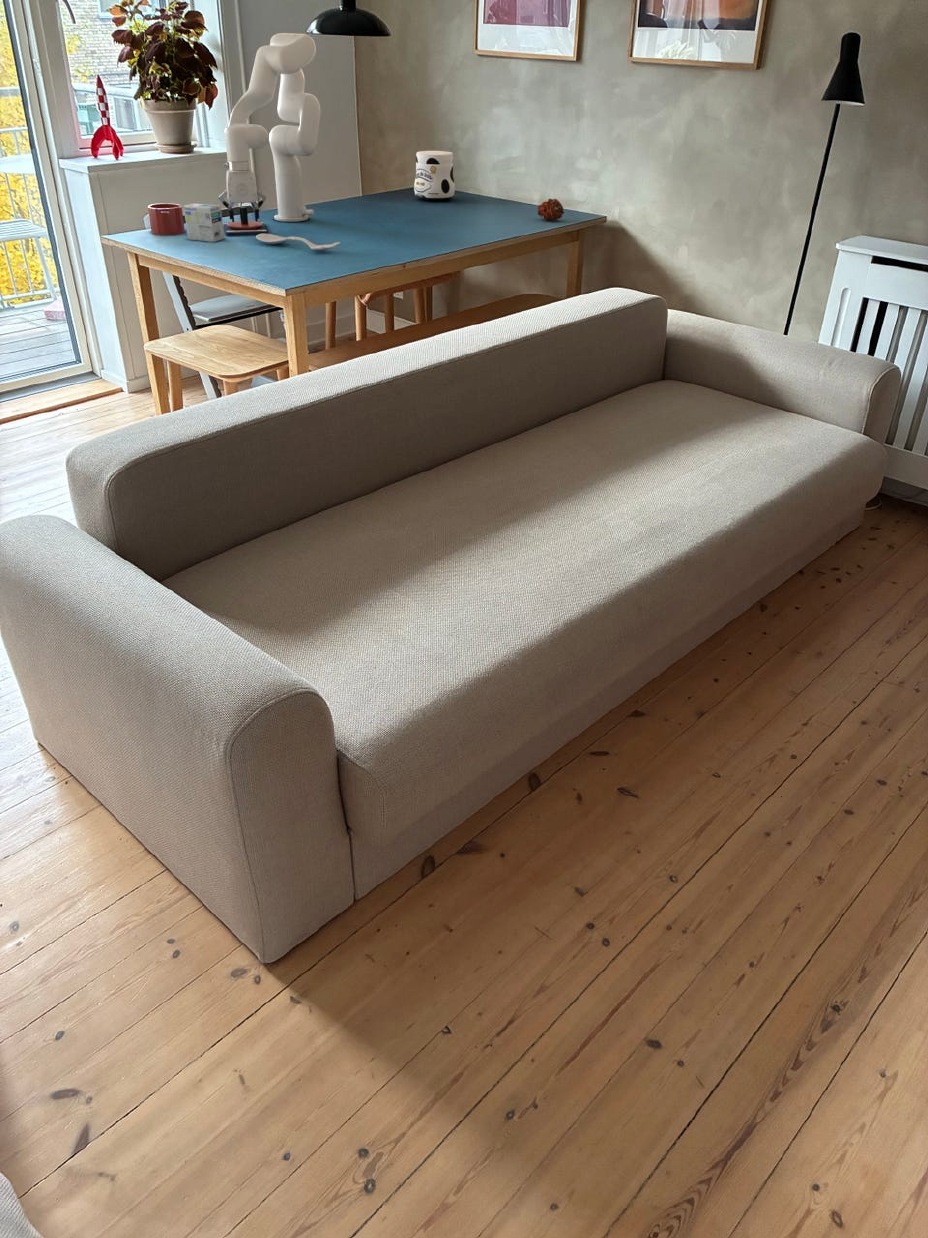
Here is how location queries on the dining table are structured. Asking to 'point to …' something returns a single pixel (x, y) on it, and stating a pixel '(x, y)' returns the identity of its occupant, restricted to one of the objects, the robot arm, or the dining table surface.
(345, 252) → the dining table surface
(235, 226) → the pot lid
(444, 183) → the milk container
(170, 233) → the pot
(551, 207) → the red-brown bumpy ovoid
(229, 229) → the blue-grey flat slab
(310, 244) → the spoon
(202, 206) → the light bulb box
